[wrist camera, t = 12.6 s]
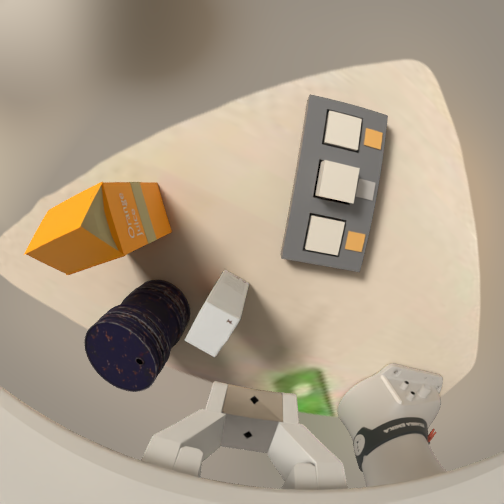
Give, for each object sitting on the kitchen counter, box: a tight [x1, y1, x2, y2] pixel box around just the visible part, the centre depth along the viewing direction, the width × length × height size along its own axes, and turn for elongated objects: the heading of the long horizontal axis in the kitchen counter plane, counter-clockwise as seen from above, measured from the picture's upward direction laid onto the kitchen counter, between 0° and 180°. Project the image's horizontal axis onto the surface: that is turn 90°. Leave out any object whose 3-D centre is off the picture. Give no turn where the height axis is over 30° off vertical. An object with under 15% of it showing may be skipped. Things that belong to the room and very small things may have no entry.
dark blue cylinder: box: [85, 280, 190, 392], centre depth 35 cm, size 10×10×15 cm
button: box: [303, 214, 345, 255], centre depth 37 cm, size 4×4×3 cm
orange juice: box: [24, 182, 172, 275], centre depth 30 cm, size 8×9×20 cm
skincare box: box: [185, 270, 249, 357], centre depth 35 cm, size 6×4×12 cm
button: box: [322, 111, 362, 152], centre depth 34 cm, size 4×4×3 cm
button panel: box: [281, 95, 388, 272], centre depth 36 cm, size 11×22×3 cm, turn 170°
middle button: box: [315, 160, 360, 204], centre depth 33 cm, size 4×4×3 cm
